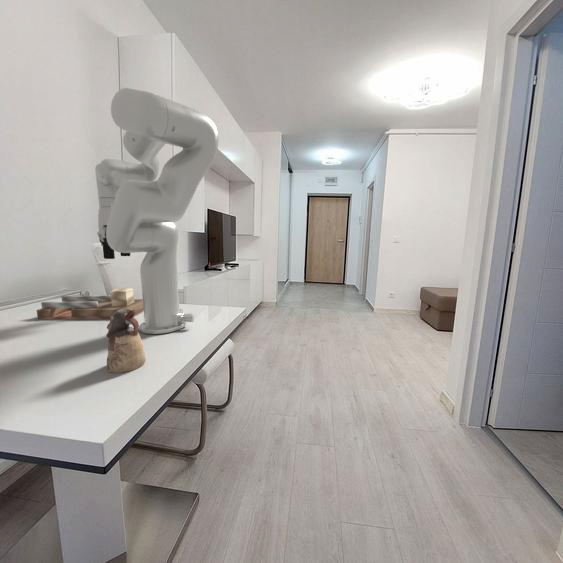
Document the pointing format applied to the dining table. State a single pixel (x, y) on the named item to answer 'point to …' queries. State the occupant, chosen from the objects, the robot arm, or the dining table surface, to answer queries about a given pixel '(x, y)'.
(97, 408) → the dining table surface
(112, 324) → the figurine
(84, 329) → the dining table surface
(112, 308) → the trap deck
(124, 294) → the block
